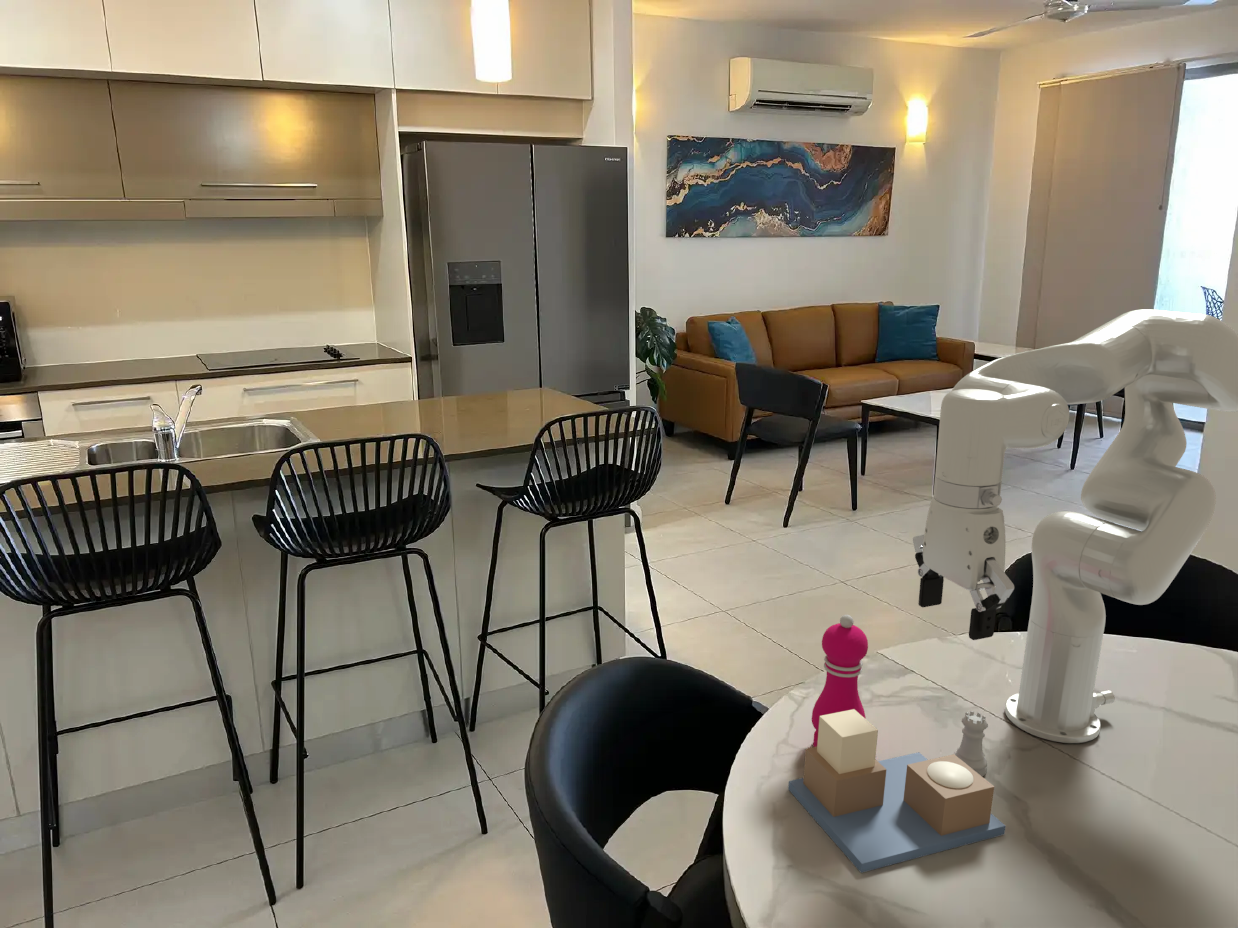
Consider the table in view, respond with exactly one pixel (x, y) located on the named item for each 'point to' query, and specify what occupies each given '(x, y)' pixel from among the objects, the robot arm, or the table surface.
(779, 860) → the table surface
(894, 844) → the blue and tan platform
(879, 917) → the table surface
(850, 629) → the pepper mill
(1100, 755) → the table surface
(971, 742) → the rook chess piece
